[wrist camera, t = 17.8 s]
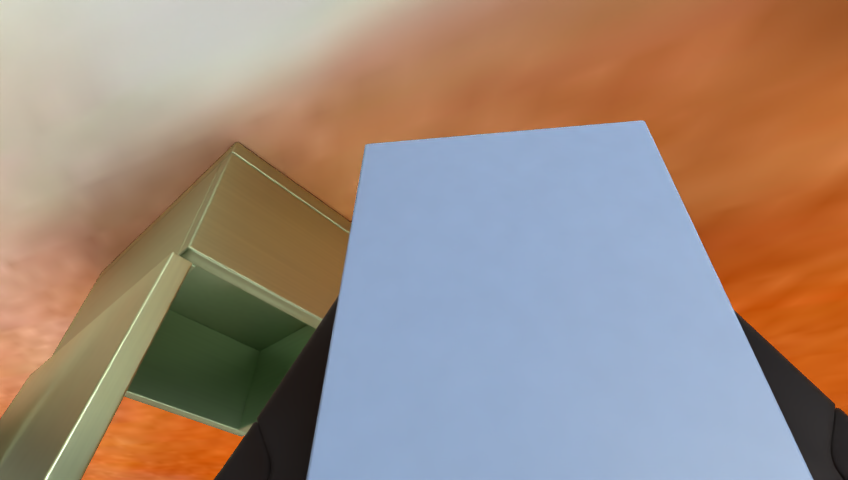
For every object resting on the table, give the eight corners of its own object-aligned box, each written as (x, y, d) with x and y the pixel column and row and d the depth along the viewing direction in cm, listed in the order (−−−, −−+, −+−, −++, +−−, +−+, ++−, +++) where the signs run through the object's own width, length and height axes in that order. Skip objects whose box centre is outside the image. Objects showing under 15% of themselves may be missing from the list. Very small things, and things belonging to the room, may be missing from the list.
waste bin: (414, 266, 28) (409, 367, 24) (265, 348, 36) (241, 437, 31) (236, 140, 22) (187, 247, 18) (101, 272, 29) (43, 369, 25)
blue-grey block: (644, 118, 8) (825, 500, 4) (604, 289, 11) (683, 586, 8) (364, 143, 8) (300, 502, 5) (405, 299, 12) (387, 582, 8)
